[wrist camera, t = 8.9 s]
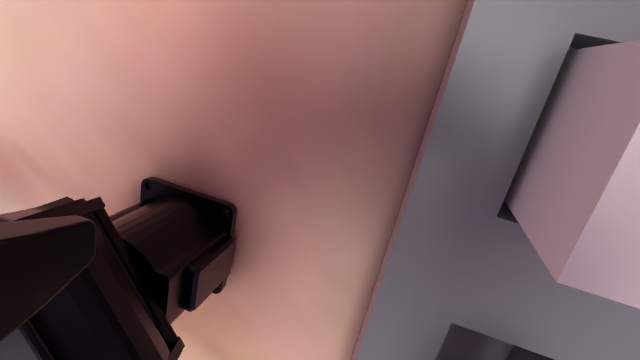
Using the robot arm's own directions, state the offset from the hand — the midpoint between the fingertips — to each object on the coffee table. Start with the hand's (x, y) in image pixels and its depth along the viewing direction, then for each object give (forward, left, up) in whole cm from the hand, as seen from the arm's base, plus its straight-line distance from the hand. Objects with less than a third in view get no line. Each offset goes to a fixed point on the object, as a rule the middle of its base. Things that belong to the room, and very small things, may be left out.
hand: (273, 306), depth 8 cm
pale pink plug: (+8, +4, -12) cm, 15 cm away
